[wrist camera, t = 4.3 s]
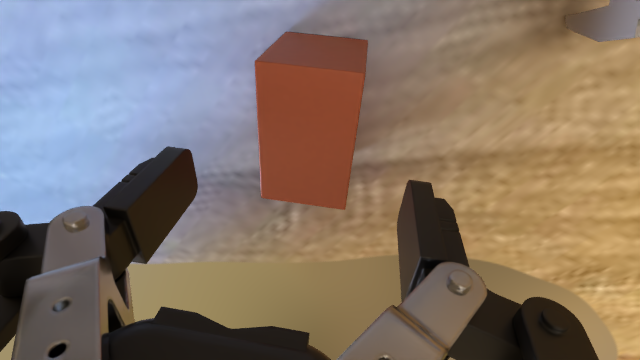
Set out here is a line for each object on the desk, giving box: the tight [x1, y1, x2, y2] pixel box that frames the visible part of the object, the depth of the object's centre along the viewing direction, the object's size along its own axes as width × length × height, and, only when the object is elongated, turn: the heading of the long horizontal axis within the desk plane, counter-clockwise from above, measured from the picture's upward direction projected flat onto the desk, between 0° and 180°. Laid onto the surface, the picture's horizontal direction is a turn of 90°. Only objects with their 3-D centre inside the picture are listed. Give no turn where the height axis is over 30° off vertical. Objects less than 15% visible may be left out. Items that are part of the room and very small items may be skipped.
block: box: [255, 32, 368, 210], centre depth 17 cm, size 4×7×6 cm, turn 176°
